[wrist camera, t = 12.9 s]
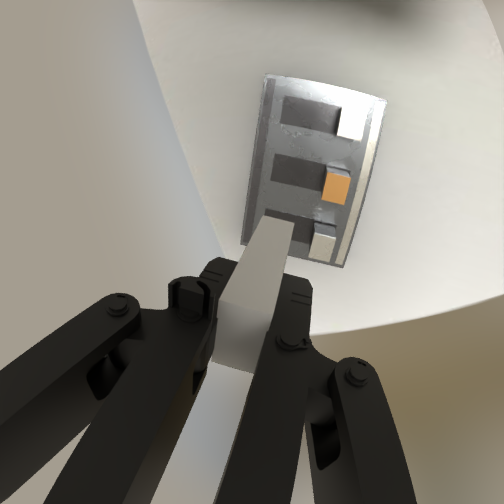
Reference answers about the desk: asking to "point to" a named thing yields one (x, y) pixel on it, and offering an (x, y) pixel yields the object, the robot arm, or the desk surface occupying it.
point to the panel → (312, 163)
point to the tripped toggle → (335, 185)
